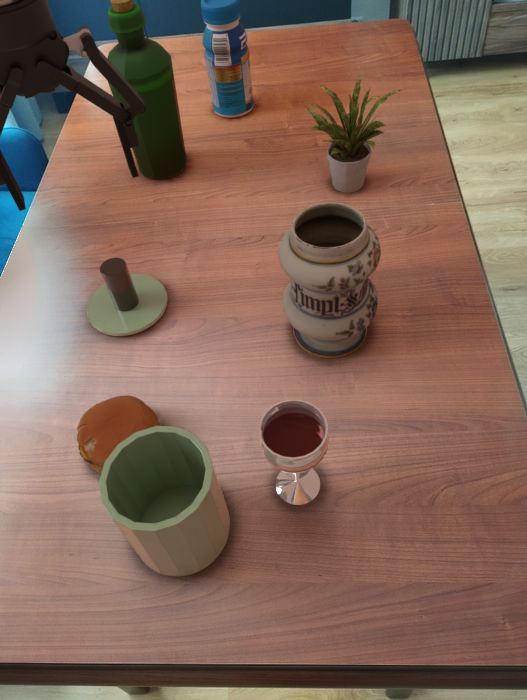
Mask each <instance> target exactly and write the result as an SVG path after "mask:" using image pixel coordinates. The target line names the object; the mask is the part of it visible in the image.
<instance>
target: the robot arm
mask: <svg viewBox="0 0 527 700" xmlns="http://www.w3.org/2000/svg"><path fill="white" fill-rule="evenodd" d="M70 52H75V53H77V55H78V56H79V57H81V58H88V59H89V61H90V63H91V64H92V66H93V67H94V68H95V69H96V70H97V72H99V73H100V75H102V76H103V78H104V79H105V80H106V81H107V83H108V82H109V83H110V84H111V85H112V86H113V87H114V88H115V89H116V90H117V91H118V93H119V94H120V95H121V96H122V97H123V98H124V99H125V100H126V101H127V102H126V103H122V102H121V101H119V100H118V99H116V98H115V97H113V95H112V94H110V93H109V92H107V91H106V90H104V89H103V88H101V87H100V86H98V85H97V84H95V83H94V82H93V81H91V80H89V79H88V78H86V77H85V76H83V75H82V74H80V73H79V72H77V71H76V70H75V68H73V67H72V66H71V65H69V64H68V60H69V56H70ZM107 58H108V57H107V56H106V55H105V53H103V52H102V50H101V49H99V48H98V46H97V43H96V41H95V39H94V37H93V34H92V33H91V30H90V28H89V27H87V26H86V25H81V26H79V27H78V30H77V32H76V33H73V34H70V35H67V36H66V37H63V35H62V34H61V33H60V32H59V30H58V28H57V25H56V23H55V20H54V17H53V14H52V11H51V8H50V5H49V2H48V0H0V137H1V136H2V134H3V130H4V129H5V125H6V122H7V119H8V116H9V114H10V111H11V109H12V108H13V106H14V103H15V100H16V97H17V96H18V97H24V98H25V99H30V98H33V97H35V96H37V95H39V94H46V93H47V94H48V93H53V92H56V89H57V88H58V87H60V86H62V87H63V88H65V89H66V90H68V91H70V92H71V93H73V92H74V93H75V94H77V95H79V96H80V97H81V98H83V99H85V100H87V101H88V102H89V103H91V104H92V105H94V106H96V107H98V108H99V109H101V110H102V111H104V112H106V113H107V114H109V115H110V116H111V117H112V119H113V123H114V125H115V129H116V132H117V136H118V139H119V142H120V145H121V148H122V152H123V155H124V158H125V160H126V161H125V162H126V164H127V167H128V170H129V172H130V174H131V177H132V179H135V178H138V177H139V176H140V175H139V172H138V169H137V164H136V162H135V157H134V154H133V151H132V148H134V147H137V146H138V143H139V141H138V138H137V134H136V131H135V127H134V124H133V123H134V121H133V120H134V118H135V116H137V115H138V114H143V113H145V112H146V106H145V104H144V102H143V100H142V98H141V96H140V95H139V94H138V93H137V91H136V90H135V89H134V88H133V87H132V86H131V85H130V84H129V82H128V81H127V80H126V79H125V78H124V77H123V76H122V75H121V73H120V72H119V71H118V70H117V69H116V68H115V67H114V66H113V64H112V63H111V62H110V61H109V60H108V59H107ZM3 185H5V186H6V188H7V189H8V191H9V194H10V195H11V197H12V199H13V201H14V203H15V205H16V207H17V209H18V211H19V212H21V211H25V210H27V206H26V201H25V196H24V194H23V192H22V190H21V188H20V186H19V184H18V182H17V180H16V178H15V176H14V174H13V172H12V169H11V168H10V165H9V163H8V162H7V160H6V158H5V155H4V153H3V152H2V150H1V149H0V186H3Z"/></svg>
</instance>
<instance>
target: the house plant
mask: <svg viewBox="0 0 527 700" xmlns="http://www.w3.org/2000/svg"><path fill="white" fill-rule="evenodd" d="M361 83H362V74H359V76H358V77H357V80H356V81H355V85H354V88H353V92H352V95H351V94H348V98H349V105H348V111H349V113H347V112H346V109H345V107H344V104H343V102H342V100H341V98H340V97H339V95H338V94H337V93H336V92H335V91H333V90H331V89H329V88H328V87H327V86H325V85H323V84H320V83H318V85H319V86H320V88H322V89H323V90H324V91H325V94H327V95H328V96H329V97H330V99H331V100H332V101H333V103H334V106H335V109H336V112H337V115H338V117H339V119H340V123H341V125H340V124H338V123H337V121H336V120H335V118H334V117H333V116H332V115H331V114H330V112H329V111H328V110H327V109H325V108H324V107H322V106H320V105H319V104H317V103H314V102H308V104H309V105H312V106H314V108H316V109H318V110H319V111H321V112H322V113H323V114H324V115H325V116H326V117H327V118H326V117H324V116H323V115H322V114H320V113H317V112H316V111H315V110H313V109H312V108H309V107H307V106H305V109H306V111H307V112H308V113H309V114H310V115H311V116H312V119H313V120H314V122H315V123H316V125H314V126H312V127H311V128H310V129H309V130H310V131H321V132H324V133H326V134H327V135H328V136H329V138H328V139H322V142H325V143H330V144H329V145H328V147H327V149H326V156H327V160H328V161H327V162H328V167H329V172H330V178H331V184H332V186H333V188H334V189H335V190H336V191H339V192H340V193H353V192H356V191H358V190H360V189H361V188H362V187H363V186H364V183H365V179H366V174H367V171H368V167H369V163H370V160H371V159H370V158H371V155H372V150H373V151H374V150H375V149H374V148H375V146H376V142H375V141H373V140H371V139H373V138H376V137H378V136H381V135H382V134H385V132H384V131H382V130H380V128H382V127H387V125H386V124H385V123H383V122H382V121H381V120H376V118H378V117H379V116H380V115H381V114H382V113H383V112H385V111H386V109H384V110H383V111H381V112H380V113H378V114H377V115H376V116H374V118H373V119H372V120H371V118H372V117H373V115H374V114H375V113H376V112H377V111H378V109H379V108H380V107H381V106H382V105H384V104H385V102H386V101H387V100H388V99H389V98H391V97H393V95H395V94H398V93H400V92H402V91H403V89H397V90H393V91H390V92H388V93H386V94H384V95H383V96H379V95H378V96H377V95H376V96H371V97H370V98H369V96H370V92H371V87H369V88H368V89H367V90H366V91H365V94H364V96H363V99H362V102H359V98H360V95H361V89H362V84H361ZM377 98H379V99H378V100H377V101H376V102H375V103H374V104H373V105H372V107H371V108H370V110H369V112H368V114H367V115H366V117H365V119H364V114H365V110H366V106H367V105H368V103H369V102H370V101H372V100H375V99H377ZM327 119H329V121H330V122H329V121H328V120H327ZM363 119H364V120H363ZM370 120H371V121H370Z"/></svg>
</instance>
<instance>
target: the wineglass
mask: <svg viewBox="0 0 527 700" xmlns="http://www.w3.org/2000/svg"><path fill="white" fill-rule="evenodd" d="M258 424H259V425H258V429H257V431H258V435H259V444H260V450H261V452H262V454H263V455H264V457H265V459H266V461H267V462H268V463H269V464H270V465H271V466H273V467H274V468H275V469H276V470H279V471H280V472H279V473H278V475H277V476H276V480H275V490H276V492H277V495H278V496H279V497H280V498H281V500H283V501H284V502H285V503H288V504H290V505H294V506H295V505H296V506H301V505H302V506H303V505H307V504H308V503H311V502H312V501H313V500H314V499H315V498H316V497H318V494H319V492H320V489H321V480H320V477H319V475H318V473H317V471H316V470H315V469H314V468H315V467H316V466H317V465H318V464H319V463H320V462H322V461H323V459H324V457H325V456H326V453H327V451H328V449H329V439H330V437H329V433H328V432H329V425H328V421H327V418H326V416H325V414H324V413H323V412H322V410H321V409H320V408H319V407H318V406H316V405H315V404H313V403H312V402H309V401H306V400H303V399H296V398H295V399H294V398H292V399H291V398H289V399H286V400H285V399H284V400H280V401H278V402H277V403H275V404H272V405H271V406H270V407H269V408H267V410H265V411H264V413H263V414H262V416H261V418H260V420H259V423H258Z"/></svg>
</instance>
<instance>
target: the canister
mask: <svg viewBox="0 0 527 700" xmlns="http://www.w3.org/2000/svg"><path fill="white" fill-rule="evenodd" d="M98 490H99V495H100V503H101V505H102V507H103V508H104V509H105V511H106V512H107V513H108V514H107V515H109V517H110V518H111V519H112V521H113V522H114V523H115V525H116V527H117V528H118V529H119V531H120V532H121V533H122V535H123V536H124V538H125V539H126V540H127V542H128V543H129V544H130V546H131V547H132V548H133V551H135V552H136V554H137V555H138V557H139V558H140V560H141V561H142V562H143V564H145V566H147V567H148V568H149V569H151V570H153V571H154V572H156V573H158V574H160V575H163V576H168V577H187V576H190V575H193V574H196V573H198V572H200V571H202V570H204V569H206V568H207V567H208V566H209V565H211V564H213V562H214V561H215V560H216V559H217V558H218V557H219V556H220V554H221V553H222V551H223V550H224V548H225V546H226V544H227V541H228V539H229V536H230V529H231V517H230V512H229V509H228V505H227V502H226V499H225V496H224V493H223V490H222V487H221V484H220V481H219V478H218V474H217V472H216V469H215V466H214V462H213V459H212V455H211V453H210V450H209V448H208V447H207V445H205V443H204V442H203V441H202V440H201V439H200V438H199V436H198V435H196V434H195V433H193V432H190V431H189V430H186V429H184V428H183V427H179V426H177V425H176V426H173V425H162V426H154V427H151V428H148V429H144V430H141V431H138V432H135V433H134V434H132V435H131V436H129V437H128V438H127V439H125V440H124V441H122V442H121V443H119V444H118V445H117V446H116V448H115V449H114V450H113V452H112V453H111V454H110V456H109V457H108V458H107V460H106V461H105V463H104V466H103V470H102V473H101V474H100V477H99V480H98Z"/></svg>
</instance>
